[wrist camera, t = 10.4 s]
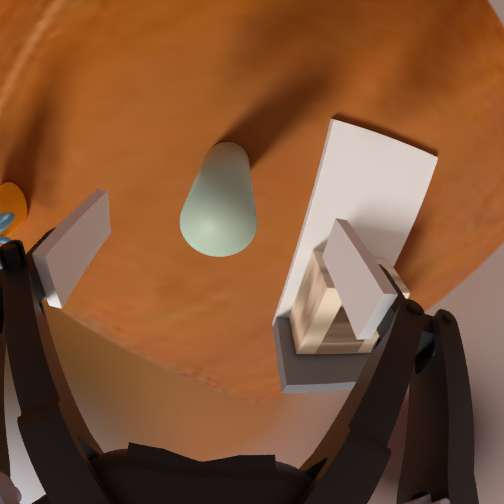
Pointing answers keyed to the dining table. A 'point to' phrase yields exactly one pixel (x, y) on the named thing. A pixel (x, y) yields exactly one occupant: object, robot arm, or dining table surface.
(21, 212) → the orange ringed tube
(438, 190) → the dining table surface
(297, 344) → the block
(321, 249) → the backstop
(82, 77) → the dining table surface
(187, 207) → the dowel
